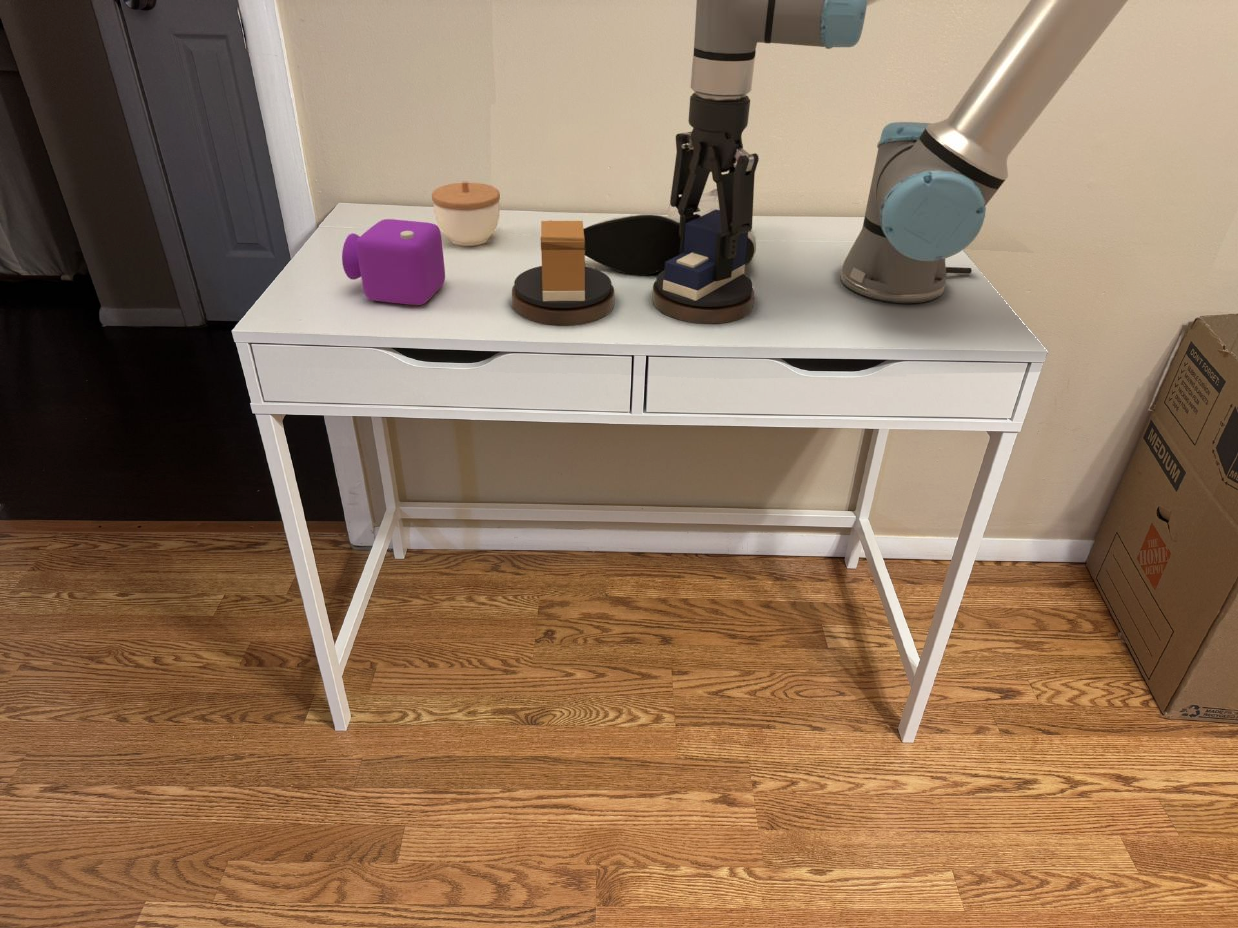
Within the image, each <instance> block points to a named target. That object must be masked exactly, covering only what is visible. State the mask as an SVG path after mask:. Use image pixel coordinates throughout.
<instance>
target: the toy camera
mask: <svg viewBox="0 0 1238 928" xmlns="http://www.w3.org/2000/svg"><path fill="white" fill-rule="evenodd" d="M441 232H442V231H441V229H440V227H439V225H438V224H435V223H432V222H427V221H415V220H404V219H394V218H386V219H381V220H380V221H378V222H376V223H375V224H374V225H372V226H371V227H370V228H368V229H367V230H366V231H365V232H363V233H362V234H361V235H359V234H356V233H353V232H352V233H349V235H348V236H346V238H345V241H344V243H343V246H342V252H341V264H342V268H343V271H344V274H345V275H346V277H347V278H348V279H349V280H358V279H360V278H361V285H362V289H363V293H364V295H365V297H366V298H367V299H368V300H372V301H376V302H382V303H390V304H391V303H392V304H402V305H409V306H410V305H411V306H420V305H424V304H426V303H427V302H428V301H429V300H430V299H431V298H432V297H433V296H434V295H435V293H436V292H437V291H438V290H439V289H440V288H441V287H442V286H443V284H444V283H445V281H446V268H445V259H444V248H443V239H442V233H441Z"/></svg>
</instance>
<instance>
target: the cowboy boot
mask: <svg viewBox="0 0 1238 928" xmlns="http://www.w3.org/2000/svg"><path fill="white" fill-rule="evenodd" d="M698 208H699V209H700V211H699V212H695V213H694V214H698V215H700V217H701V216H703V215H705V214H707V213H710V212H711V211H713V210H716V209H717V210H720V209H719V201H718V193H717V188H713V189H712V190H710V191H709V192H706V193H703V194H702V196H701V199H700V202H699V205H698ZM699 209H698V210H699ZM694 214H693V215H694ZM679 224H680V215H679V213H678V209H677V208H676V207H672V206H671V204H670V203H668V206H667V215H662V214H653V213H652V214H651V213H650V214H649V213H647V214H635V215H634V214H633V215H627V216H618V217H613V218H608V219H605V220H602V221H598V222H596V223H593V224H591V225H589V226H587V227H583V230H584V237H585V257H587V258H589V259H591V260H592V261H595V262H596V263H597V264H598V263H599V264H601V265H603V266H605V267H607V268H610V269H611V270H614V271H616V272H619V273H622V274H625V275H630V276H648V275H652V274H655V273H658V272H661V271H663V270H665V262H666V261H668V260H670V259H672V258H674V257H676V256H678V255H679V251H680V236H679V226H680V225H679ZM756 249H757V242H756V237H755V235H754V234H753V232H752V230H751V231H750V232H748V239H747V247H746V256H745V267H746V266H747V265H748V264H750V263H751V261H752V260H753V258H754V256H755V254H756Z"/></svg>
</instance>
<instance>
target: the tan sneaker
mask: <svg viewBox="0 0 1238 928" xmlns="http://www.w3.org/2000/svg"><path fill="white" fill-rule="evenodd" d="M583 229H584V222H583V220H541V222H540V251H541V254H540V255H541V265H539V266H535V267H532V268H529V269H527V270H525V271H523V272H521V273H520V274H518V275H517V276H516V277H515V279H514V283H513V286H514V288H515V292H516V294H517V295H518V296H519V297H520V298H521V299H523V300H524V301H527V302H529V303H531V304H535V305H538V306H543V307H549V308H577V307H583V306H588V305H591V304H595V303H597V302H600V301H601V300H603V299H605V298H606V297H607V296H608V295H609V294H610V292H611V284H612V280H611V278H610V277H609V276H608V274H606V273H605V272H603V271H601V270H599V269H597V268H595V267H591V266H588V265H587V266H586V256H585V237H584V230H583Z"/></svg>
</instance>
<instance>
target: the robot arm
mask: <svg viewBox="0 0 1238 928" xmlns="http://www.w3.org/2000/svg"><path fill="white" fill-rule="evenodd" d="M879 1H880V0H696V4H695V5H696V6H695V24H694V38H693V39H694V41H693V55H692V65H691V75H690V85H689V86H690V89H691V90H692V91H693V93H692V94H691V95H690V97H689V107H688V119H687V120H688V124H689V126H690V127H691V128H692V129H691V130H692V131H687V132H680V133H676V135H675V148H676V154H675V161H674V170H673V177H672V184H671V191H670V197H669V199H670V200H669V204H671V206H672V207H676V208H677V209H678V213H679V215H680V224H679V225H680V226H679V236H680V251H679V255H680V254H682V253H684V239H685V225H686V223H688V222H690V221H692V220H694V219H696V218H699V217H700V215H698V214H694V213H695V212H699V211H700V209H699V208H698V205H699V202H700V199H701V196H702V194H704V191H705V188H706V185H707V182H708V179H709V176H710V173H711V177H712V180H713V183H715V185H716V189H717V193H718V201H719V209H720V217H721V225H722V232H718V233H717V242H716V253H715V263H714V273H713V280H714V281H716V282H717V281H720V280H724V279H728V278H731V275H732V266H733V258H734V257H735V256H736V254H737V246H738V237H739V234H742V233H746V232H750V231H751V232H752V231H753V218H754V217H753V215H754V195H755V194H754V193H755V175H756V170H757V167H758V163H759V159H760V158H759V154H757V152H755V153H749V152H748V151H746V149H744V144H743V137H742V136H743V132H744V131H745V129H746V128H747V127H748V124H749V118H750V117H749V116H750V108H751V99H750V96H748V94H749V93H751V92H752V85H753V78H754V69H755V60H756V51H757V50H756V49H757V46H758V45H757V44H758V43H763V44H781V45H794V46H805V47H819V48H825V49H828V50H830V49H834V48H852V47H855V46H856V45H858V43H859V42H860V39H861V36H862V34H863V28H864V24H865V19H866V13H867V7H868V6H871V5H873V4H876V3H877V2H879ZM1128 1H1129V0H1029V1H1028V3H1027V5H1026V7H1025V8H1024V9H1023V11H1022V12H1021V13H1020V14H1019V16H1018V17H1017V19H1016V20H1015V22H1014V23H1013V24H1012V26H1011V27H1010V28H1009V30H1008V31H1007V33H1006V34H1005V36H1004V37H1003V39H1002V40H1001V41H1000V43H999V45H998V46H997V47H996V49H995V50H994V51H993V53H992V54H991V56H990V57H989V59H988V60H987V62H986V63H985V65H984V66H983V67H982V69H980V72H979V73H978V74H977V76H976V77H975V78H974V80H973V82H972V83H971V85H970V86H969V87H968V89H967V90H966V91H965V93H964V94H963V95H962V97H961V99H960V100H959V101H958V103H957V105H956V106H955V107H954V108H953V110H952V112H950V115H949V116H948V117H946V119H944V120H941V121H940V120H939V121H937V122H933V123H932V122H931V123H930V122H917V121H916V122H914V121H895V122H890V123H888V124H886V125H885V126H884V127H883V128H882V131H881V134H880V138H879V141H878V142H877V145H876V147H877V153H876V158H875V162H874V167H873V174H872V176H871V177H872V178H871V183H870V188H869V193H868V198H867V203H866V207H865V212H864V218H863V224H862V227H861V230H860V232H859V234H858V235H857V237H856V239H855V241H854V242H853V244H852V246H851V248H850V250H849V252H848V253H847V255H846V257H845V259H844V261H843V264H842V266H841V271H840V280H841V282H842V284H843V285H844V286H845V287H847V288H848V289H849V290H850V291H853V292H854V293H857V294H859V295H860V296H864V297H867V298H870V299H873V300H877V301H883V302H887V303H895V304H918V303H927V302H930V301H933V300H935V299H938V298H939V297H940V296H942V295H943V293H944V292H945V287H946V284H947V274H959V275H962V274H963V275H971V274H972V271H973V269H972V268H971V267H957V266H947V265H946V259H948V258H950V257H951V258H952V257H953V256H955V255H957V254H959V253H961V252H963V251H964V250H965V249H966V248H967V247H969V245H971V243H972V242H973V241H975V240H976V238H977V237H978V235H979V233H980V232H981V229H982V227H983V224H984V220H985V218H986V211H987V207H986V206H987V204H988V203H990V201H991V199H992V198H993V197H994V196H995V194H996V193H997V192H998V191H999V190H1000V188H1001V186H1002V185H1003V184H1004V183H1005V182H1006V180H1007V179H1008V177H1009V172H1008V171H1009V170H1008V158H1009V156H1010V155H1011V153H1012V152H1013V150H1014V149H1015V148H1016V147H1017V145H1018V144H1019V143H1020V141H1021V140H1022V139H1023V137H1024V136H1025V135H1026V134H1027V132H1029V130H1030V128H1031V127H1032V126H1033V125H1034V123H1035V122H1036V121H1037V119H1038V118H1039V117H1040V115H1041V114H1042V113H1043V111H1044V110H1045V109H1046V108H1047V106H1048V105H1049V104H1050V102H1051V101H1052V100H1053V98H1054V97H1055V96H1056V95H1057V93H1058V92H1059V91H1060V89H1061V88H1062V87H1063V86H1064V84H1065V83H1066V82H1067V80H1068V79H1069V78H1070V77H1071V75H1072V74H1073V73H1074V71H1075V70H1076V69H1077V67H1078V66H1079V65H1080V64H1081V62H1082V61H1083V59H1084V58H1085V57H1086V56H1087V54H1089V52H1090V50H1091V49H1092V48H1093V46H1095V44H1096V43H1097V41H1098V40H1099V39H1100V37H1102V35H1103V34H1104V32H1105V31H1106V29H1107V28H1108V27H1109V26H1110V25H1111V23H1112V22H1113V21H1114V19H1115V18H1116V17H1117V15H1118V14H1119V13H1120V11H1121V10H1122V9H1123V8H1124V6H1125V5H1126V4H1127V3H1128ZM727 172H728V173H727ZM698 209H699V210H698ZM693 214H694V215H693ZM731 223H732V225H730V224H731Z"/></svg>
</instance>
